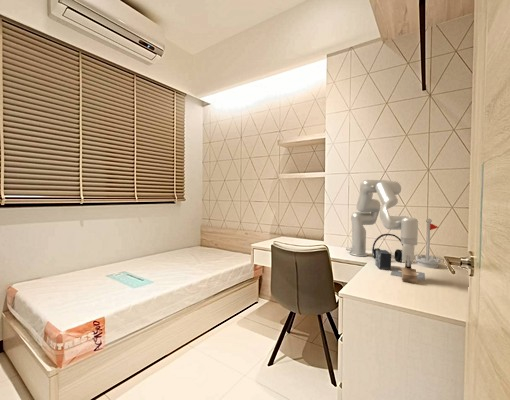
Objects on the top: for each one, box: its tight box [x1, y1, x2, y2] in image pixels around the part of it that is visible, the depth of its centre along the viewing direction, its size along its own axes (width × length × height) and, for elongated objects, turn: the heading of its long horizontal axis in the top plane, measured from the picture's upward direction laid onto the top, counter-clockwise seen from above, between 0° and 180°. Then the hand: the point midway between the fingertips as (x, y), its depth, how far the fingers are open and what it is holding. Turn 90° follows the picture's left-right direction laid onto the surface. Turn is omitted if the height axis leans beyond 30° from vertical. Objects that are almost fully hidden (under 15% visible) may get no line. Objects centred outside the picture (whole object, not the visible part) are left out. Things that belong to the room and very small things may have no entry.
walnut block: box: [401, 267, 418, 284], centre depth 129 cm, size 6×6×5 cm
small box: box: [374, 248, 392, 271], centre depth 152 cm, size 11×6×10 cm, turn 168°
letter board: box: [390, 267, 426, 282], centre depth 140 cm, size 16×16×1 cm
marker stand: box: [414, 218, 441, 269], centre depth 160 cm, size 13×13×30 cm
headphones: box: [371, 233, 403, 263], centre depth 170 cm, size 20×7×18 cm, turn 81°
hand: (407, 275), depth 133 cm, fingers closed
